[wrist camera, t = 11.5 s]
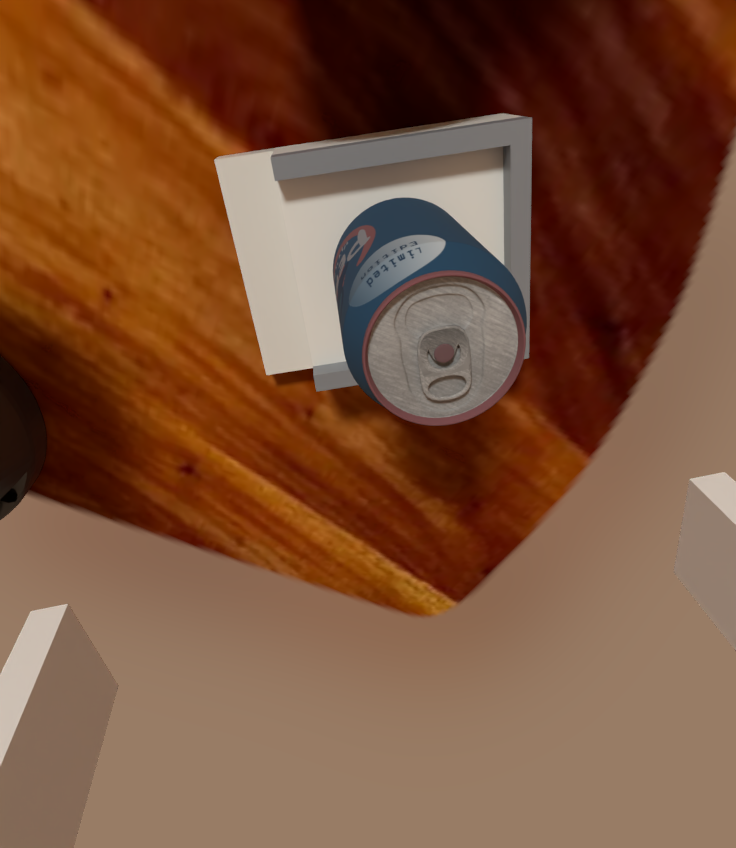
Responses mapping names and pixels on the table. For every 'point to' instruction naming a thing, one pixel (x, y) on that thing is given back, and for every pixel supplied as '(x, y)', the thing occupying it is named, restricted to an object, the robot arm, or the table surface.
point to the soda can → (426, 313)
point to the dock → (348, 197)
